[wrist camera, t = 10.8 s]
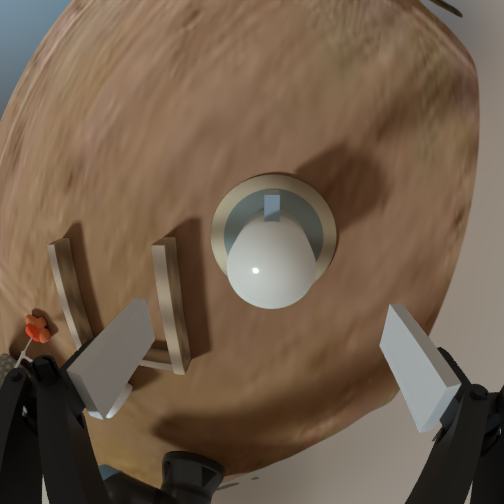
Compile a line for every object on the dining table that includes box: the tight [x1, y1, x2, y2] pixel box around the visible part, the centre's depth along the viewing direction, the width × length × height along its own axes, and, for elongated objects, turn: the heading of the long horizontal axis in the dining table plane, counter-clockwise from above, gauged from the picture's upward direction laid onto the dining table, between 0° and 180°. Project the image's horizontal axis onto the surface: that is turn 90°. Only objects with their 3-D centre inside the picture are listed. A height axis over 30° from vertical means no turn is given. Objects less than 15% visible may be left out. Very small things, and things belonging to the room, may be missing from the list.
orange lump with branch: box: [14, 315, 50, 368], centre depth 34 cm, size 6×10×12 cm, turn 56°
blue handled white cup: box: [227, 190, 316, 309], centre depth 25 cm, size 7×9×9 cm
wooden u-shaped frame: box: [47, 237, 191, 375], centre depth 33 cm, size 18×19×4 cm
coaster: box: [211, 174, 336, 284], centre depth 30 cm, size 14×14×1 cm
